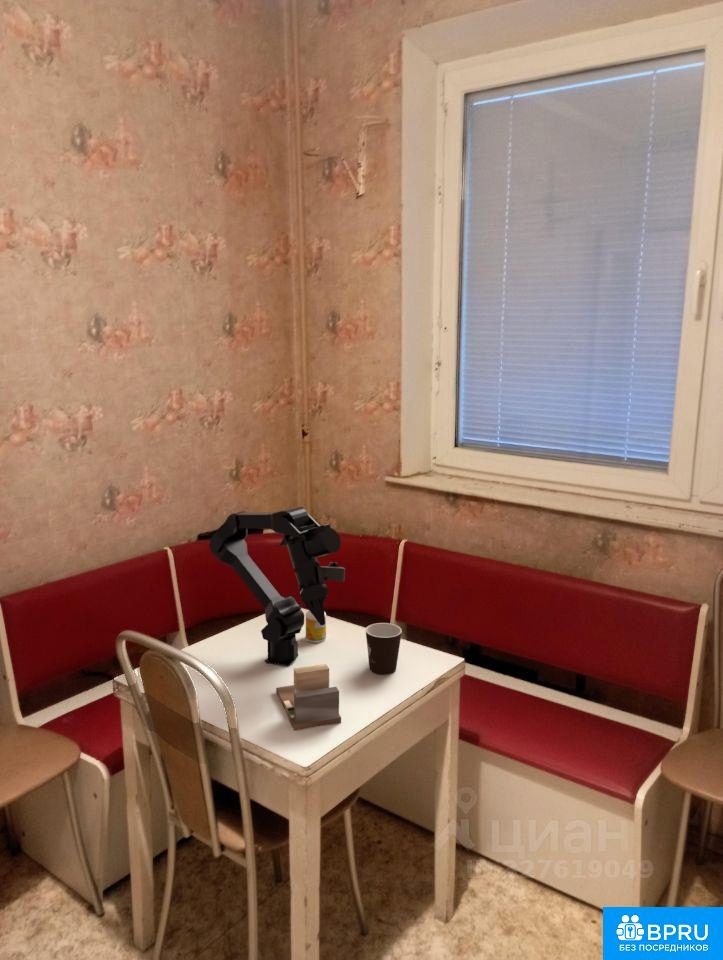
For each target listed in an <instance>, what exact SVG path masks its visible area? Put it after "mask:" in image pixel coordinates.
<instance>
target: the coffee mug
mask: <svg viewBox="0 0 723 960" xmlns="http://www.w3.org/2000/svg"><path fill="white" fill-rule="evenodd" d="M402 632H403V630H402V628H401V627H400V626H398V625H397V624H393V623H388V622H378V623H377V622H376V623H372V624H369V625H368V626H366V628H365V635H366V636H365V637H366V645H367V647H366V648H367V656H368V657H367V658H368V667H369V671H370V672H371V673H373V674H375V675H378V676H389V675H392V674H394V673H395V672H396V671H397V667H398V665H397V664H398V658H399V653H400V646H401V638H402Z"/></svg>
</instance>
